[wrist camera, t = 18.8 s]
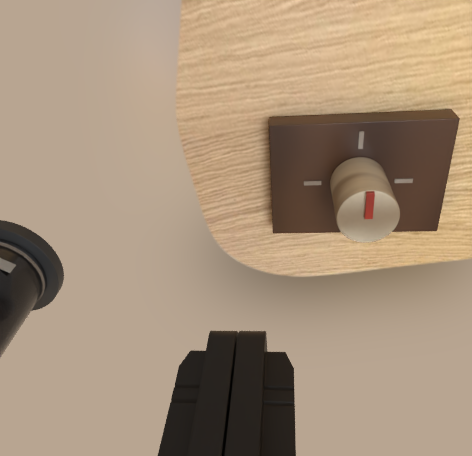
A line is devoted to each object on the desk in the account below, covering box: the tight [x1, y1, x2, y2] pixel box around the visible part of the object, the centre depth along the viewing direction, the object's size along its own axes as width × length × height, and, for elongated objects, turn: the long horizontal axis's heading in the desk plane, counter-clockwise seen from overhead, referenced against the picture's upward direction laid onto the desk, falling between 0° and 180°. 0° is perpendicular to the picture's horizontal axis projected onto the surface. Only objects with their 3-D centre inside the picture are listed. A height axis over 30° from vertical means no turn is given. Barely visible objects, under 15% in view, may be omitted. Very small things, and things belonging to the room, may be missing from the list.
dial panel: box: [269, 109, 460, 233], centre depth 37 cm, size 14×10×2 cm
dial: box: [330, 157, 400, 243], centre depth 34 cm, size 4×4×6 cm
